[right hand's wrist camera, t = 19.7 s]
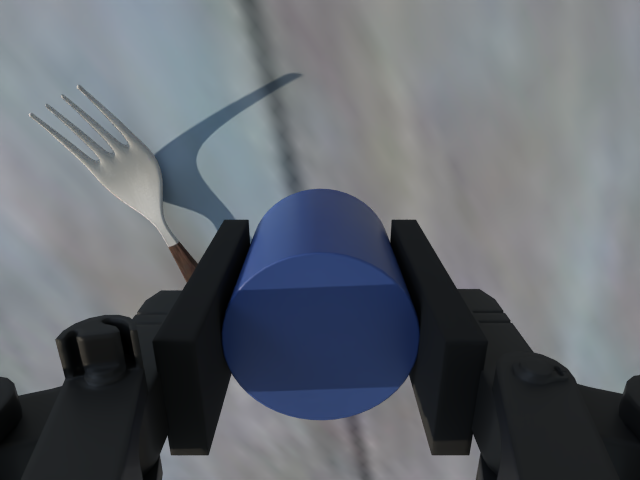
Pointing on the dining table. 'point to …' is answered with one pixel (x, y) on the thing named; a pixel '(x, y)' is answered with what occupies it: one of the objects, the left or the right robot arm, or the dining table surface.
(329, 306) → the can
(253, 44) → the dining table surface
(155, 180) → the fork
